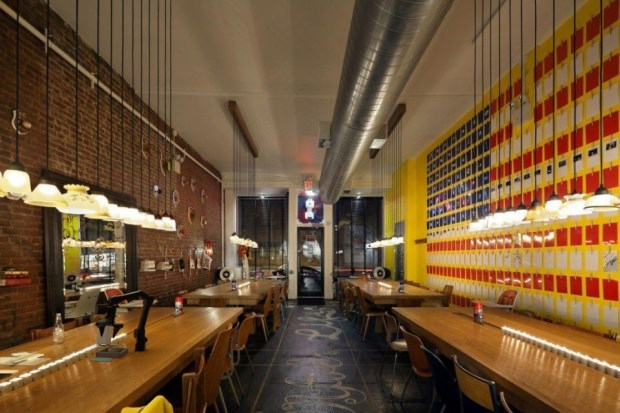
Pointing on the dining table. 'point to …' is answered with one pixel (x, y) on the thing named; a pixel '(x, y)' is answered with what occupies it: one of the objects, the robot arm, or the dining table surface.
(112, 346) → the ash cube
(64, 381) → the dining table surface
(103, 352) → the housing
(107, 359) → the teal mat
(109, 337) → the milk carton
